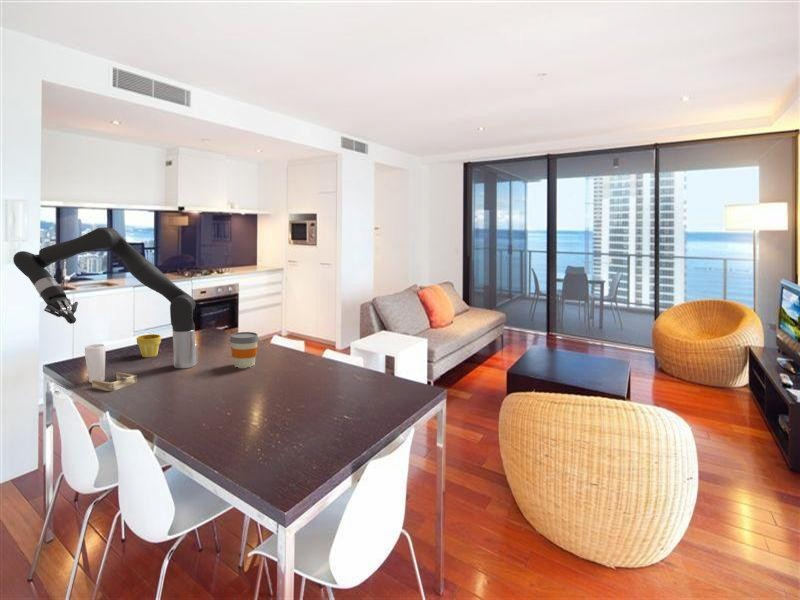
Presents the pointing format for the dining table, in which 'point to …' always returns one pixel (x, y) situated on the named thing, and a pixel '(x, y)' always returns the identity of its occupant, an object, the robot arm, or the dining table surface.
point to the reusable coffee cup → (244, 348)
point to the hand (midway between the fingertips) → (73, 322)
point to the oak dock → (122, 382)
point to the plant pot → (149, 344)
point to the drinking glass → (95, 361)
